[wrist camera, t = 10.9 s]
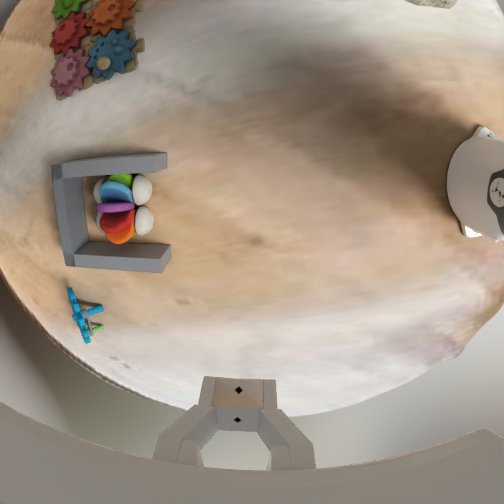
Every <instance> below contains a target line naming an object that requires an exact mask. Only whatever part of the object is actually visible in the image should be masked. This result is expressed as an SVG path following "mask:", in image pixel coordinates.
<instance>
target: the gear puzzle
mask: <svg viewBox="0 0 504 504" xmlns="http://www.w3.org/2000/svg"><path fill="white" fill-rule="evenodd" d="M55 3H56V4H57V5H56V6H55V7H54V8H53V10H52V13H56V16H55V19H56V24H57V25H58V26H57V27H56V30H55V31H53V32H52V35H53V37H54V39H53V40H52V42H51V44H50V47H55V49H54V54H55V60H58V61H57V62H56V63H55V68H54V69H53V70H52V71H51V74H52V75H53V76H54V78H53V80H52V82H51V85H50V86H51V87H56V98H57V100H63V99H65V98H67V97H69V96H71V95H72V93H73V91H74V89H75V88H80V89H79V90H80V91H82V90H84V89H87V88H89V87H91V86H92V85H93V83H95V84H99V83H101V82H103V81H106V80H109V79H110V78H111V77H112V75H113V74H114V72H115V71H116V72H120V73H121V74H125V73H128V72H131V71H133V70H135V69H136V68H137V66H138V61H137V53H138V52H143V51H144V39H143V38H140V39H138V40H137V41H136V38H135V30H134V29H133V28H132V27H133V26H134V24H135V12H140V11H142V0H137V1H136V2H134V0H55ZM92 6H93V8H92V10H90V8H91V7H92ZM91 41H93V42H94V43H93V44H92V46H89V45H90V43H91Z"/></svg>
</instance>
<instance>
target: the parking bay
mask: <svg viewBox="0 0 504 504" xmlns="http://www.w3.org/2000/svg"><path fill="white" fill-rule="evenodd" d="M51 166H52V179H53V190H54V199H55V207H56V214H57V221H58V228H59V233H60V239H61V244H62V250H63V255H64V259H65V264H66V266H73V267H84V268H97V269H109V270H122V271H136V272H151V273H162V272H163V270H164V268H165V267H166V265H167V264H168V262H169V261H170V259H171V258H172V257H171V245H163V244H138V243H123V244H114V243H112V242H89V236H88V229H87V221H86V214H85V205H84V195H83V184H82V177H85V176H97V175H112V174H131V173H155V172H157V171H160V170H162V169H165V168H167V153H150V154H133V155H120V156H108V157H98V158H88V159H80V160H72V161H67V162H63V163H59V164H55V165H51Z"/></svg>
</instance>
